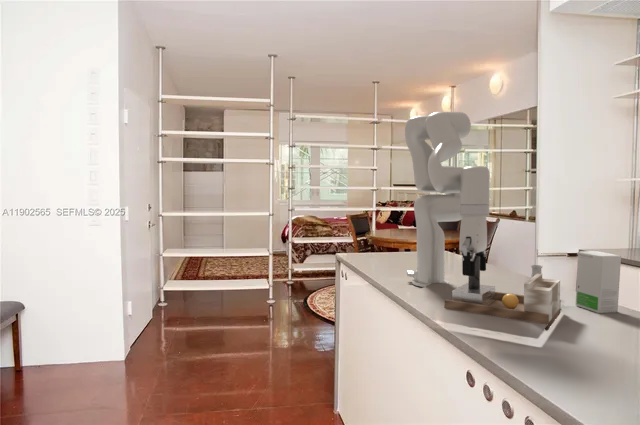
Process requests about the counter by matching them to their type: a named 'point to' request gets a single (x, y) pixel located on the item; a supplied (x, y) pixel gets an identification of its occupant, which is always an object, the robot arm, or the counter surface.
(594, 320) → the counter surface
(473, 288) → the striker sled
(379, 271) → the counter surface
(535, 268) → the flask
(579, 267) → the skincare box
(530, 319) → the wooden tray
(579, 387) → the counter surface
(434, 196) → the robot arm
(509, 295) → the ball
